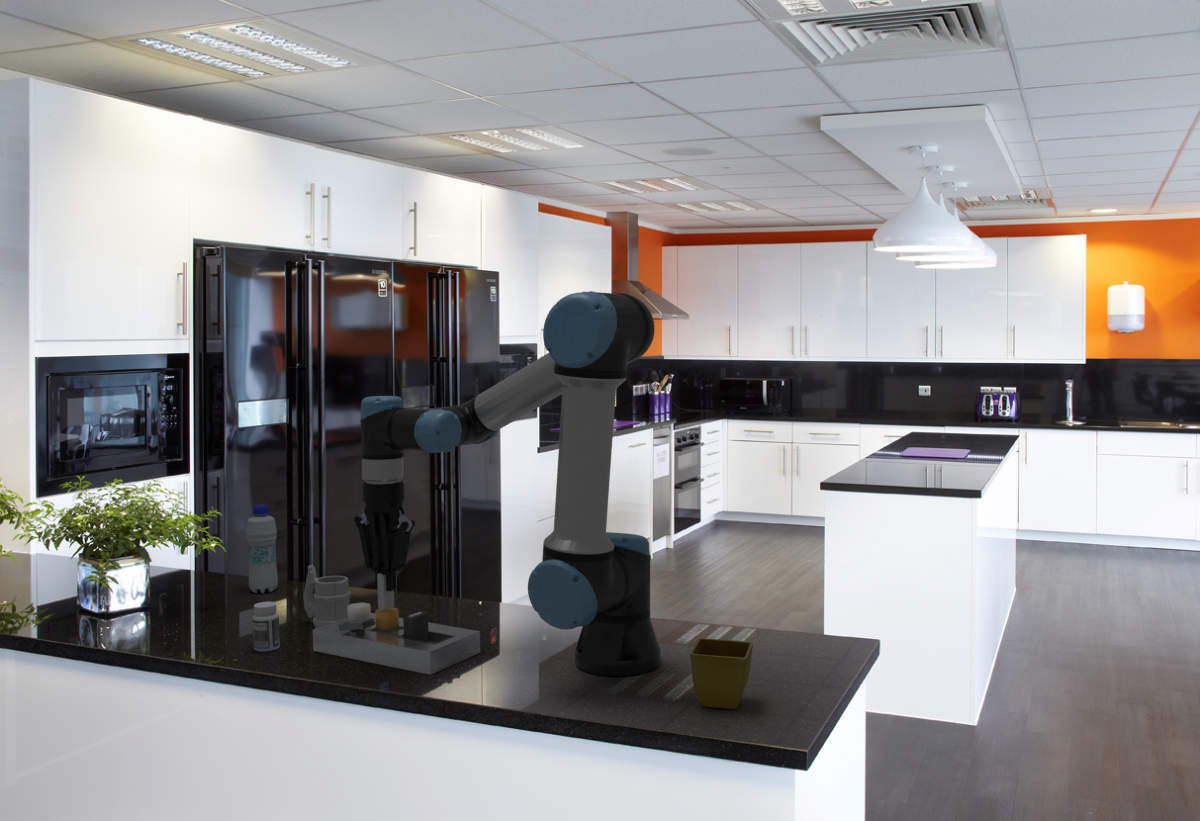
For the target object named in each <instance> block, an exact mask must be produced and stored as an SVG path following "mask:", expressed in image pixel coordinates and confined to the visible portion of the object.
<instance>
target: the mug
mask: <svg viewBox="0 0 1200 821" xmlns="http://www.w3.org/2000/svg"><path fill="white" fill-rule="evenodd" d="M349 587H350V586H349V578H348V577H347V576H343V575H329V576H328V575H327V576H321V577H318V576H317V571H316V567H315V566H314V565H313V564H309V565H308V566H307V575H306V580H305V585H304V592H303V593H302V594H303V595H302V596H303V598H302V599H303V608H304V611H305V612H306V614H307V617H308V619H309V618H310V619H311V618H312V624H313V625H314V629H316V628H319V627H322V626H325V625H328V624H331V623H334V622H337V621H340V620H343V619H346V618H348V608H347V606H348V605H350V604H351V603H350V602H351V600H350V598H351V596H352V593H351V591H350V588H349ZM313 590H314V594H313Z"/></svg>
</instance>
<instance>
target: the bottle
mask: <svg viewBox="0 0 1200 821" xmlns="http://www.w3.org/2000/svg"><path fill="white" fill-rule="evenodd" d="M252 511H253V513H252V514H253V516H251V517H250V518H248V519H247V522H246V532H245V535H246V541H247V542H248V544H247V545H248V566H249V567H248V585H249V589H250V592H252V593H254V594H258V592H259V591H260V594H265V591H266V589H267V592H268V593H272V592H274V591H276V590H277V588H278V585H279V584H278V583H279V580H278V579H279V578H278V570H277V568H278V567H277V554H276V553H277V550H276V548H277V544H276V540H277V538H278V537H277V533H278V531H277V530H278V529H277V526H276V520H275V517H273V516H271V515H269V514H270V510H269V506H268V505H266V504H257V505H254V506H253V508H252Z"/></svg>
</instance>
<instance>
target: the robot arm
mask: <svg viewBox="0 0 1200 821" xmlns="http://www.w3.org/2000/svg"><path fill="white" fill-rule="evenodd" d="M655 326H656V325H655V321H654V318H653V314H652V312H651V310H650V309H649V308H648V305H646V304H645V303H644V302H643V301H642V300H640V298H637V297H636V296H634V295H630V294H628V293H618V292H617V293H614V292H613V293H611V292H598V291H597V292H596V291H592V290H590V291H581V292H574V293H571V294H567V295H565V296H564V297H562V298H560V299H559V300H558V301H557V302H556V303H555V304H554V305H552V306H551V308H550V310H549V311H548V313H547V315H546V317H545V319H544V324H543V328H542V338H543V343H544V344H543V345H544V347H545V349H546V351H548V353H546V354H544V355H543V356H541V357H539V358H537V359H535V360H534V361H533V362H531V363H529V364H528V365H526V366H524V367H522V368H521V369H519V370H518V371H516V372H514V373H512V374H511V375H510V376H508V377H505V379H503V380H501V381H500V382H498V383H496V384H494V385H493V386H491V387H489V388H487V389H485V391H483V392H481V393H479V394H478V395H477V396H474V397H472V398H471V399H469V400H467V401H466V402H464V403H462V404H458V405H450V406H442V407H441V406H439V407H432V408H405V406H404V405H403V399H402V398H401V396H396V395H376V396H375V395H374V396H367V397H365V398H363V399H362V401H361V402H360V403H361V404H360V419H359V422H360V437H361V439H360V440H361V479H362V480H363V481H364V482H362V483H363V484H362V485H361V486H362V502H363V503H365V506H364V508H363V513H361V514H360V515H357V516H355V517H354V518H353V521H354V522H355V525H356V527H357V529H358V533H359V537H360V538H359V539H360V544H361V548H362V553H363V558H364V564H365V566H366V569H371V570H372V572H374V583H375V586H374V587H375V589H376V590H377V609H383V610H385V609H388V608H391V607H393V608H395V591H396V590H397V573H398V572H400V571H402V570H404V569H405V568H406V564H407V563H406V562H407V557H408V553H409V552H408V550H409V546H410V545H409V544H410V541H411V534H412V531H413V529H414V527H415V526H416V522H415V520H414V519H409V518H408V517H406V516H405V511H404V508H403V503H404V501H405V482H404V481H403V480H402V479H403V478H405V468H404V466H405V465H404V464H405V463H404V462H405V460H404V456H405V454H404V451H416V452H427V453H429V454H436V453H448V452H451V451H453V450H454V448H455V447H461V446H462V447H463V446H467V445H480V444H483V443H485V442H488V441H490V440H492V439H494V438H495V437H496V436H497V434H498V432H499V431H500V430H501V429H503V428H505V427H506V426H508V425H510V424H512V423H514V422H515V421H517V420H518V419H519V420H520V418H522V417H523V416H526V415H527V414H529V413H531V412H533V411H535V410H536V409H538V408H540V407H542V406H543V405H545V404H546V403H549V402H551V401H552V400H553V399H556V398H557V397H559V396H561V410H560V420H559V421H560V424H559V437H558V438H559V439H558V442H559V443H558V454H557V457H558V458H557V470H556V471H557V473H556V488H555V504H554V521H553V530H552V532H551V533H550V534H548V535H547V536H546V537H545V538H543V542H542V543H543V546H542V547H543V548H542V558H541V561H540V562H539V563H538V564H537V565H536V566H535V567H534V568H533V570H531V572H530V574H529V577H528V582H527V594H528V599H529V602H530V604H531V606H532V608H533V610H534V612H536V613H537V614H538V616H539V618H540V619H541V620H542V621H543V622H545V623H546V624H547V625H549V626H551V627H553V628H555V629H560V630H573V629H575V628H579V627H581V630H580V634H579V636H578V640H577V643H576V647H575V649H574V650H575V651H574V663H575V666H576V667H577V668H578V669H579V670H581V671H583V672H586V673H590V674H593V675H600V676H609V677H611V676H612V677H613V676H614V677H625V676H635V675H640V674H644V673H645V674H646V673H649V672H651V671H653V670H655V669H657V668H659V667H660V666H661V661H662V659H661V658H662V657H661V655H662V654H661V653H662V652H661V648H660V645H659V642H658V638H657V635H656V632H655V630H654V627H653V624H652V620H651V558H652V556H651V553H650V542H649V540H648V539H647V537H645V536H643V535H641V534H635V533H624V532H611V531H609V532H608V531H607V524H608V523H607V522H608V508H609V495H610V494H609V493H610V482H611V481H610V480H611V468H612V467H611V466H612V465H611V464H612V454H613V453H612V450H613V436H614V424H615V421H614V420H615V408H616V395H617V389H618V388H619V386H621V385H622V384H624V383H625V381H626V380H627V372H628V365H629V364H631V363H633V362H635V361H638V360H639V359H640V358H642V356H644V355H645V354H646V353H647V351H648V350H649V349H650V347H651V345H652V343H653V341H654V337H655Z"/></svg>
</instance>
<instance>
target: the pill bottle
mask: <svg viewBox="0 0 1200 821" xmlns="http://www.w3.org/2000/svg"><path fill="white" fill-rule="evenodd" d="M253 613H254V615H252V619H251V620H252V639H253V650H255V652H260V653H261V652H263V653H264V652H271V651H276V650H278V649H279V648H280V647H281V639H280V638H281V636H280V616H279V613H278V612H277V603H276V602H275V601H262V602H256V603H255V604H253Z"/></svg>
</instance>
